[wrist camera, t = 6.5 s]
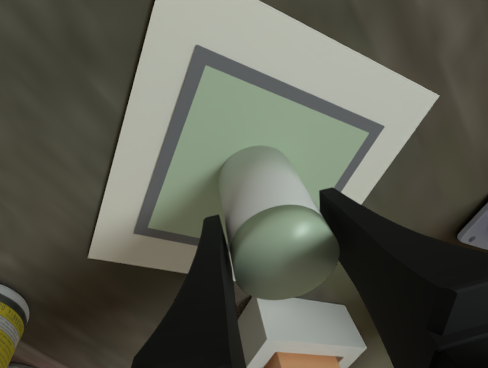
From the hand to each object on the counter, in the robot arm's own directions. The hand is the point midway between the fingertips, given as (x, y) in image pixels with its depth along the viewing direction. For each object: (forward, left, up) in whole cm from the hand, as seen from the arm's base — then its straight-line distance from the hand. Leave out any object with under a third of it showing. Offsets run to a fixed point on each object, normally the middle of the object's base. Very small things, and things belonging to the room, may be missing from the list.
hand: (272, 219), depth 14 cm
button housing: (-8, +13, -4) cm, 15 cm away
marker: (0, 0, -3) cm, 3 cm away
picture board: (0, 0, -4) cm, 4 cm away
